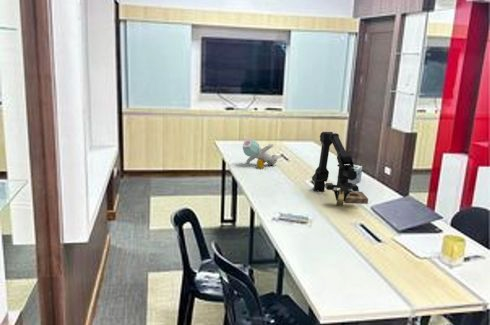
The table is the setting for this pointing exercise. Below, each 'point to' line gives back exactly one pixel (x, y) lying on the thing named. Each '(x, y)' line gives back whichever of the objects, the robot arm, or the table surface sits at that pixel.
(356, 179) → the pocket watch
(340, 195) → the gold cylinder
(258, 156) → the toy
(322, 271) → the table surface
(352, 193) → the jig block
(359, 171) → the light bulb box
